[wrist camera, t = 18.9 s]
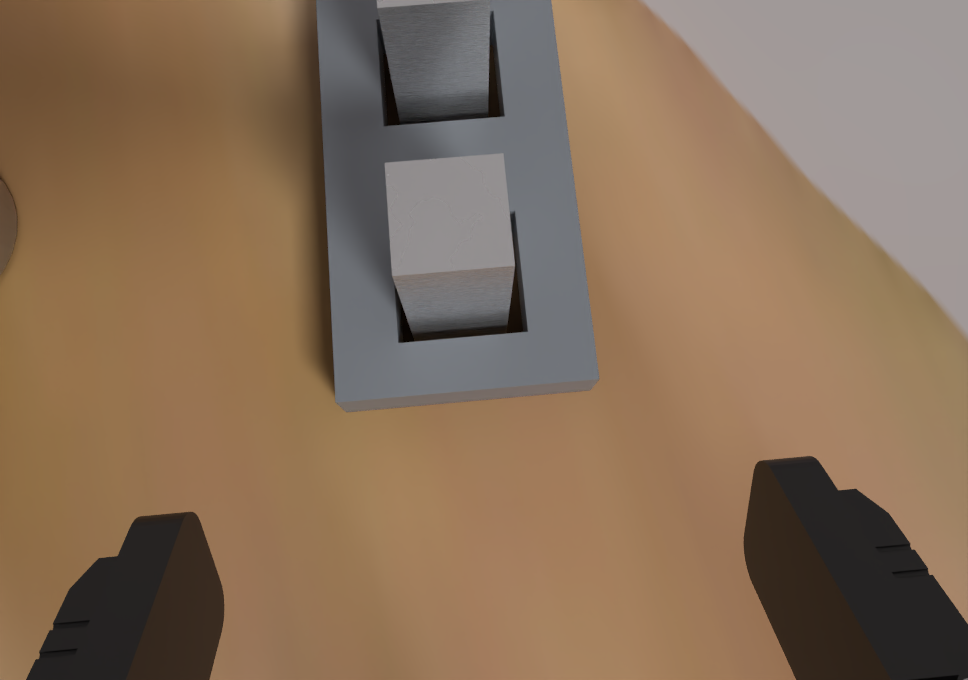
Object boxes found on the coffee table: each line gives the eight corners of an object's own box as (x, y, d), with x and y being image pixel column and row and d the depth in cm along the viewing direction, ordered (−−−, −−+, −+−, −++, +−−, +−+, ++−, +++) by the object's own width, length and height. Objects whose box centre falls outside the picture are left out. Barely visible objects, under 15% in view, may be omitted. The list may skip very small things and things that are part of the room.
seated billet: (487, 133, 42) (490, -1, 32) (403, 140, 42) (377, 7, 31) (480, 58, 43) (480, -96, 33) (397, 65, 43) (370, -88, 33)
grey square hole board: (590, 390, 39) (599, 378, 36) (346, 412, 39) (335, 402, 36) (542, 1, 44) (546, -36, 41) (326, 18, 44) (315, -19, 41)
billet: (505, 337, 40) (514, 266, 29) (416, 344, 40) (391, 276, 29) (497, 252, 41) (503, 153, 30) (409, 259, 41) (384, 162, 30)
